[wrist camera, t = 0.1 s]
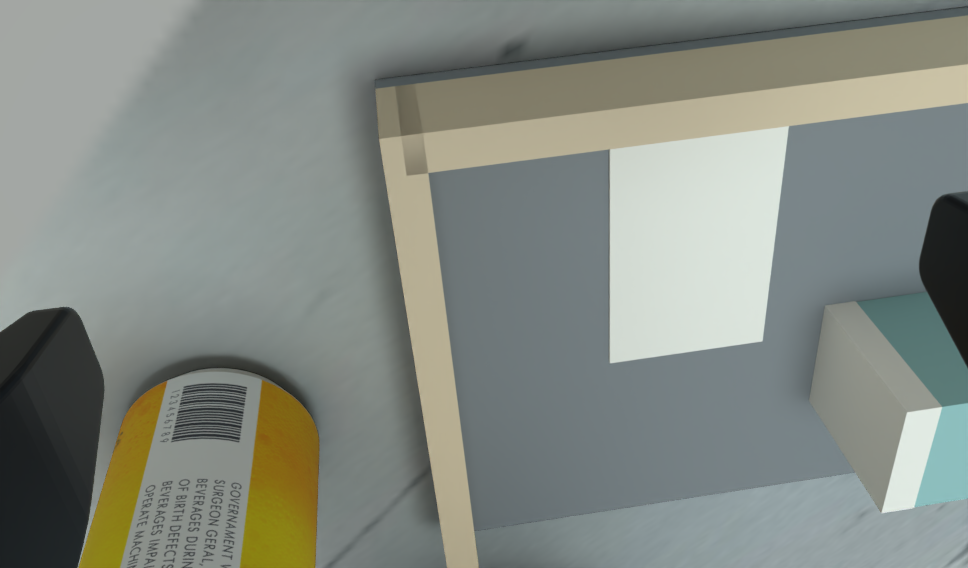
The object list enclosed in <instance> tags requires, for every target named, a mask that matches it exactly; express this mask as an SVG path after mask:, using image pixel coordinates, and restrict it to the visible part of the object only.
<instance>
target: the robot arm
mask: <svg viewBox="0 0 968 568" xmlns="http://www.w3.org/2000/svg"><path fill="white" fill-rule="evenodd" d="M919 274H920V277H921V281H922V283H923V285H924V287H925V289H926V291H927V293H928V295H929V297H930V299H931V300H932V302H933V304H934V306H935V308H936V310H937V312H938V314H939V316H940V317H941V319H942V321H943V323H944V325H945V327H946V329H947V331H948V332H949V334H950V336H951V338H952V340H953V342H954V344H955V346H956V347H957V349H958V351H959V353H960V355H961V357H962V359H963V361H964V363H965V364H966V366H967V368H968V191H964V192H956V193H948V194H944V195H942V196H940V197H939V198H938V199H936V201H935V202H934V204H933V206H932V209H931V212H930V216H929V220H928V225H927V229H926V233H925V237H924V241H923V245H922V249H921V253H920V258H919ZM103 399H104V378H103V374H102V370H101V367H100V365H99V362H98V360H97V357H96V355H95V352H94V350H93V347H92V345H91V342H90V340H89V337H88V335H87V332H86V330H85V327H84V325H83V322H82V320H81V318H80V316H79V315H78V314H77V312H76V311H75V310H73V309H72V308H69V307H60V308H52V309H44V310H36V311H32V312H29V313H27V314H25V315H24V316H22V317H21V318H20V319H18V320H17V321H15V322H14V323H13V324H11V325H10V326H8V327H7V328H6V329H4V330H3V331H1V332H0V568H77V567H78V563H79V559H80V555H81V551H82V547H83V543H84V538H85V534H86V529H87V525H88V520H89V514H90V507H91V500H92V492H93V484H94V475H95V467H96V458H97V450H98V441H99V433H100V425H101V416H102V408H103Z"/></svg>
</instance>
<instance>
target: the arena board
mask: <svg viewBox="0 0 968 568" xmlns="http://www.w3.org/2000/svg"><path fill="white" fill-rule="evenodd" d="M375 90H376V104H377V118H378V133H379V142H380V149H381V155H382V161H383V168H384V174H385V180H386V186H387V193H388V199H389V205H390V212H391V218H392V224H393V230H394V237H395V243H396V249H397V256H398V262H399V268H400V274H401V281H402V287H403V293H404V300H405V306H406V312H407V318H408V325H409V331H410V337H411V344H412V350H413V356H414V362H415V369H416V375H417V381H418V388H419V394H420V400H421V406H422V413H423V419H424V425H425V432H426V438H427V444H428V450H429V457H430V463H431V469H432V476H433V482H434V488H435V494H436V501H437V507H438V513H439V520H440V526H441V532H442V538H443V545H444V551H445V557H446V564H447V568H479V565H478V557H477V550H476V542H475V534H474V531H479V530H485V529H492V528H498V527H505V526H511V525H518V524H524V523H531V522H537V521H544V520H550V519H557V518H563V517H570V516H576V515H583V514H589V513H595V512H602V511H608V510H615V509H621V508H628V507H634V506H641V505H647V504H654V503H660V502H667V501H673V500H680V499H686V498H693V497H699V496H706V495H712V494H719V493H725V492H732V491H738V490H745V489H751V488H758V487H764V486H771V485H777V484H784V483H790V482H797V481H803V480H810V479H816V478H823V477H829V476H836V475H842V474H848V473H855V471H854V470H853V468H852V467H851V465H850V464H849V462H848V460H847V459H846V457H845V456H844V454H843V453H842V451H841V450H840V448H839V446H838V445H837V443H836V442H835V440H834V439H833V437H832V436H831V434H830V433H829V431H828V429H827V428H826V426H825V425H824V423H823V422H822V420H821V419H820V417H819V415H818V414H817V412H816V411H815V409H814V408H813V406H812V405H811V403H810V402H809V398H810V392H811V386H812V380H813V374H814V368H815V362H816V356H817V351H818V345H819V339H820V333H821V327H822V321H823V315H824V309H825V306H826V305H832V304H839V303H846V302H853V301H856V302H859V301H866V300H873V299H880V298H887V297H894V296H901V295H908V294H915V293H922V292H927V291H926V289H925V287H924V285H923V283H922V281H921V277H920V274H919V258H920V253H921V249H922V245H923V241H924V237H925V233H926V229H927V225H928V220H929V216H930V212H931V209H932V206H933V204H934V202H935V201H936V199H938V198H939V197H940V196H942V195H944V194H948V193H956V192H964V191H968V7H963V8H955V9H947V10H938V11H930V12H922V13H914V14H906V15H898V16H890V17H882V18H873V19H865V20H857V21H849V22H841V23H833V24H825V25H817V26H809V27H800V28H792V29H784V30H776V31H768V32H760V33H752V34H744V35H735V36H727V37H719V38H711V39H703V40H695V41H687V42H679V43H671V44H662V45H654V46H646V47H638V48H630V49H622V50H614V51H606V52H597V53H589V54H581V55H573V56H565V57H557V58H549V59H541V60H533V61H524V62H516V63H508V64H500V65H492V66H484V67H476V68H468V69H459V70H451V71H443V72H435V73H427V74H419V75H411V76H403V77H395V78H386V79H378V80H375Z"/></svg>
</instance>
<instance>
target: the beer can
mask: <svg viewBox="0 0 968 568" xmlns="http://www.w3.org/2000/svg"><path fill="white" fill-rule="evenodd" d="M318 475H319V436H318V431H317V428H316V425H315V423H314V421H313V419H312V417H311V415H310V414H309V413H308V411H307V410H306V408H305V407H304V406H303V405H302V404H301V403H300V402H299V401H298V400H297V399H296V398H294V397H293V396H292V395H291V394H289V393H288V392H286V391H285V390H283V389H282V388H281V387H280V386H278V385H277V384H275V383H274V382H272V381H270V380H268V379H267V378H265V377H262V376H260V375H257V374H254V373H251V372H248V371H243V370H239V369H231V368H209V369H201V370H197V371H192V372H189V373H186V374H183V375H180V376H178V377H175V378H172V379H170V380H167V381H165V382H163V383H160V384H158V385H156V386H155V387H153V388H151V389H150V390H148V391H147V392H146V393H144V394H143V395H142V396H140V397H139V398H138V399H137V400H136V401H135V402H134V403H133V405H132V406H131V407H130V409H129V410H128V412H127V413H126V415H125V417H124V419H123V422H122V425H121V428H120V431H119V435H118V438H117V441H116V445H115V448H114V451H113V455H112V458H111V461H110V464H109V468H108V471H107V474H106V478H105V481H104V484H103V488H102V491H101V494H100V498H99V501H98V504H97V508H96V511H95V514H94V518H93V521H92V524H91V528H90V531H89V534H88V538H87V541H86V544H85V548H84V551H83V554H82V558H81V561H80V564H79V568H315V561H316V532H317V504H318Z"/></svg>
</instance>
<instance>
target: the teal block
mask: <svg viewBox="0 0 968 568" xmlns="http://www.w3.org/2000/svg"><path fill="white" fill-rule="evenodd" d="M809 402H810V403H811V405H812V406H813V408H814V409H815V411H816V412H817V414H818V415H819V417H820V419H821V420H822V422H823V423H824V425H825V426H826V428H827V429H828V431H829V433H830V434H831V436H832V437H833V439H834V440H835V442H836V443H837V445H838V446H839V448H840V450H841V451H842V453H843V454H844V456H845V457H846V459H847V460H848V462H849V464H850V465H851V467H852V468H853V470H854V471H855V473H856V474H857V476H858V478H859V479H860V481H861V482H862V484H863V485H864V487H865V488H866V490H867V491H868V493H869V495H870V496H871V498H872V499H873V501H874V502H875V504H876V505H877V507H878V509H879V510H880V512H881V513H886V512H893V511H899V510H905V509H911V508H914V507H918V506H924V505H930V504H936V503H943V502H949V501H955V500H961V499H968V368H967V366H966V364H965V363H964V361H963V359H962V357H961V355H960V353H959V351H958V349H957V347H956V346H955V344H954V342H953V340H952V338H951V336H950V334H949V332H948V331H947V329H946V327H945V325H944V323H943V321H942V319H941V317H940V316H939V314H938V312H937V310H936V308H935V306H934V304H933V302H932V300H931V299H930V297H929V295H928V293H927V292H922V293H915V294H908V295H901V296H894V297H887V298H880V299H873V300H866V301H859V302H856V301H853V302H846V303H839V304H832V305H826V306H825V309H824V315H823V321H822V327H821V333H820V339H819V345H818V351H817V356H816V362H815V368H814V374H813V380H812V386H811V392H810V398H809Z"/></svg>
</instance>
